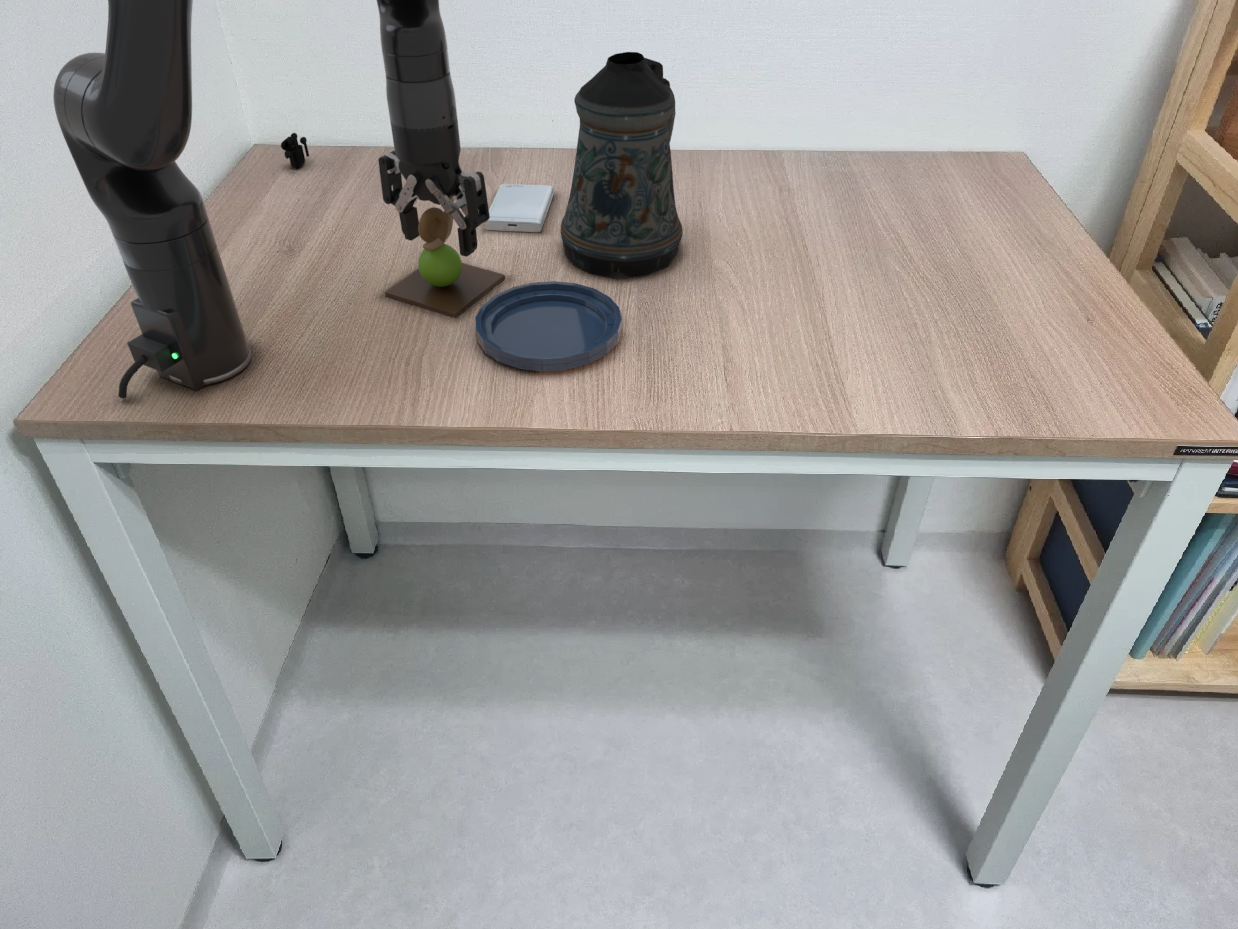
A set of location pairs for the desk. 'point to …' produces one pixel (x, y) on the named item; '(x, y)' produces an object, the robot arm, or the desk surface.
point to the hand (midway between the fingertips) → (440, 245)
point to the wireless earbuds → (295, 150)
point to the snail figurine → (438, 249)
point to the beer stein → (623, 173)
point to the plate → (548, 326)
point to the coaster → (446, 290)
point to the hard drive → (520, 208)
